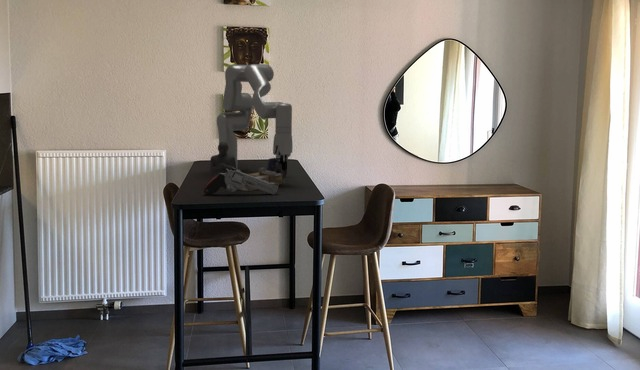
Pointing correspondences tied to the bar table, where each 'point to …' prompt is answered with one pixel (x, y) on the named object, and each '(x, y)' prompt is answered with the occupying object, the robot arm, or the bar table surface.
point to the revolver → (226, 180)
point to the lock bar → (277, 173)
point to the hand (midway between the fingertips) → (283, 169)
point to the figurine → (222, 160)
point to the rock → (274, 166)
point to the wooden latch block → (263, 177)
